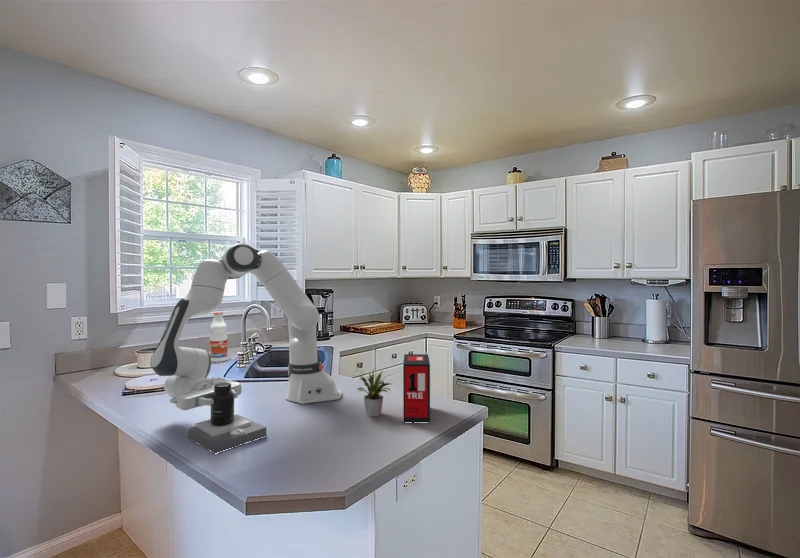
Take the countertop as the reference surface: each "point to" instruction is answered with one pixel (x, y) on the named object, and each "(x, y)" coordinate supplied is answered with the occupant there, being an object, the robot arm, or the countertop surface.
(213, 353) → the fruit juice
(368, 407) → the house plant
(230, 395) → the supplement bottle
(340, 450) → the countertop surface
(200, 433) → the kitchen scale
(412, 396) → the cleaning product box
